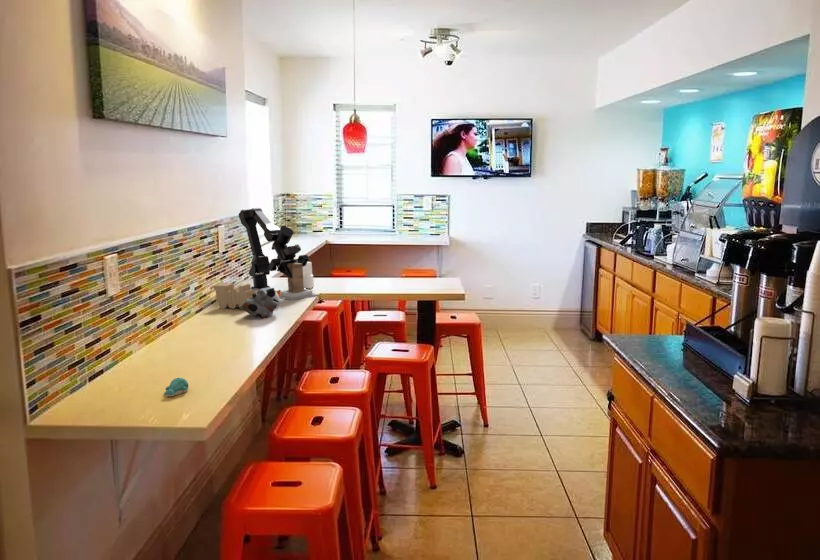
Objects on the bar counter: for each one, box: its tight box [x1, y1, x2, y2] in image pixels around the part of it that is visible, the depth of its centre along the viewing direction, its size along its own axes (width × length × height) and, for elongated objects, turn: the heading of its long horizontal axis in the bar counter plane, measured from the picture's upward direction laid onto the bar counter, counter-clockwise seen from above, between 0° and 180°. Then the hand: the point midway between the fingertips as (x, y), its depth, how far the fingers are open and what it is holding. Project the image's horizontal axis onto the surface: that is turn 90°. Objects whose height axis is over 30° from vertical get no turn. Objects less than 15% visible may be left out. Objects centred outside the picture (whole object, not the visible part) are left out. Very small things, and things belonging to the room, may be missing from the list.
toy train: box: [212, 282, 254, 310], centre depth 268 cm, size 6×17×10 cm, turn 71°
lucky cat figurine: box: [238, 287, 282, 320], centre depth 251 cm, size 15×12×14 cm
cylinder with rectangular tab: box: [303, 261, 315, 289], centre depth 310 cm, size 9×9×12 cm
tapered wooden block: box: [287, 263, 304, 293], centre depth 288 cm, size 5×5×12 cm
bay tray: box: [280, 289, 319, 301], centre depth 290 cm, size 14×14×2 cm
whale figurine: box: [163, 377, 189, 397], centre depth 164 cm, size 6×7×4 cm
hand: (296, 277), depth 287 cm, fingers closed on tapered wooden block, 5 cm apart
